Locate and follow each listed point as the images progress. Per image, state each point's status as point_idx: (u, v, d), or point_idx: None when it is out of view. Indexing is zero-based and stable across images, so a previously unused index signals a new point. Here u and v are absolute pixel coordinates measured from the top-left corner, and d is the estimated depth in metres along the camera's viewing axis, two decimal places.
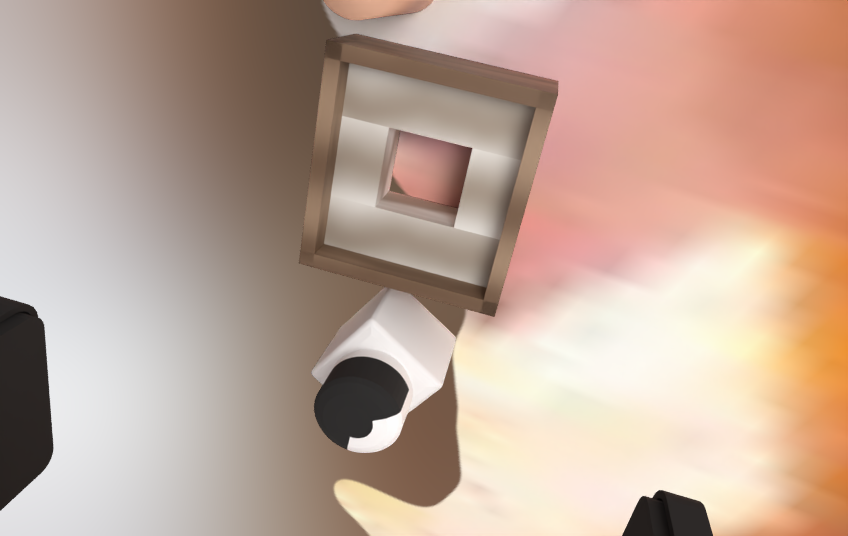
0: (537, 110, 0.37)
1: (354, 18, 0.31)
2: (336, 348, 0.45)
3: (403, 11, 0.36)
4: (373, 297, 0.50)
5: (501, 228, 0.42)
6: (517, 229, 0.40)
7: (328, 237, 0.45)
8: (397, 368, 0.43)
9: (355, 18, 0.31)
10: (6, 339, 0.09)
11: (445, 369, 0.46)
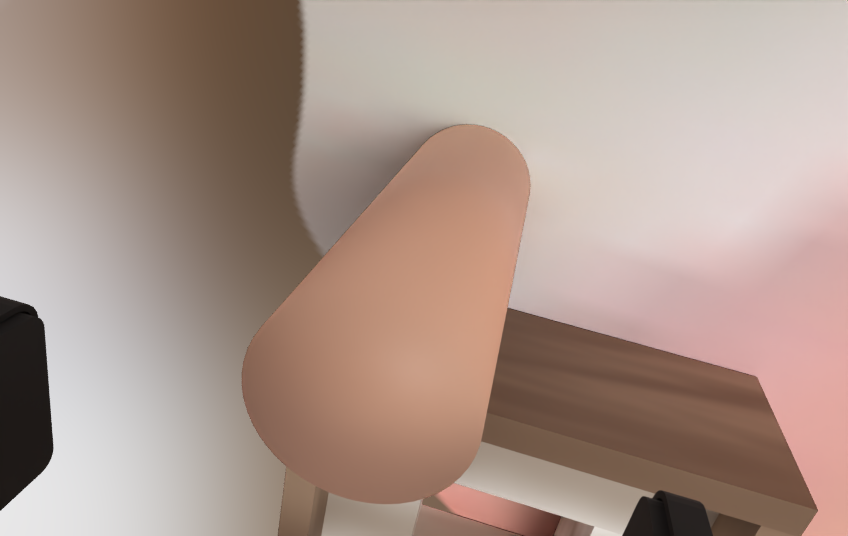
0: (763, 531, 0.17)
1: (357, 498, 0.11)
2: None
3: None
4: None
5: None
6: None
7: None
8: None
9: (360, 499, 0.11)
10: (6, 339, 0.09)
11: None
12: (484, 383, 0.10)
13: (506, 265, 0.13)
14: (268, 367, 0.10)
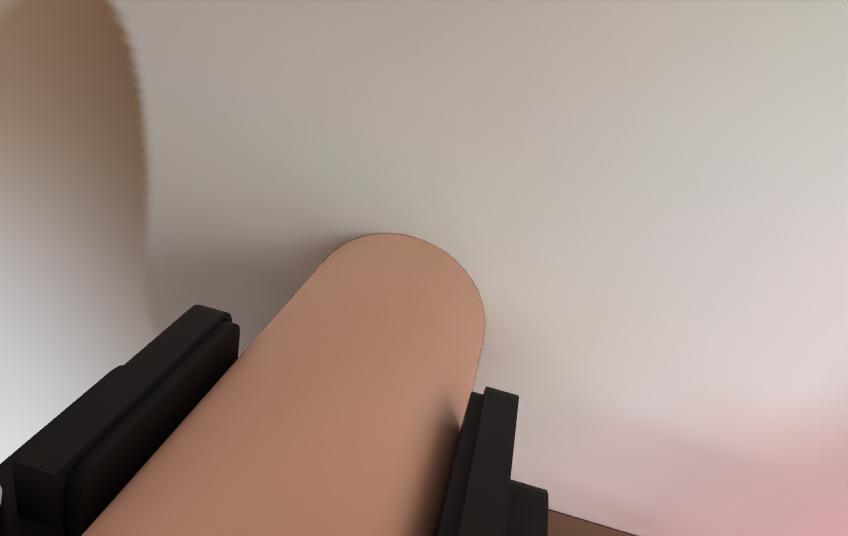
0: None
1: None
2: None
3: None
4: None
5: None
6: None
7: None
8: None
9: None
10: (219, 345, 0.10)
11: None
12: None
13: None
14: None
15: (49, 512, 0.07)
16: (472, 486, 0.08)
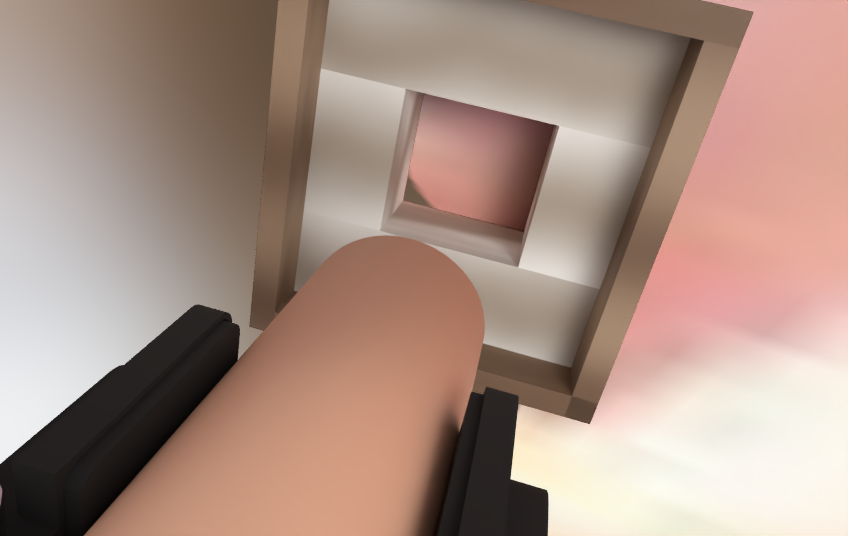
0: (706, 47, 0.18)
1: None
2: None
3: None
4: None
5: (604, 269, 0.24)
6: (644, 276, 0.21)
7: (301, 280, 0.27)
8: None
9: None
10: (219, 345, 0.10)
11: None
12: None
13: None
14: None
15: (49, 512, 0.07)
16: (472, 486, 0.08)
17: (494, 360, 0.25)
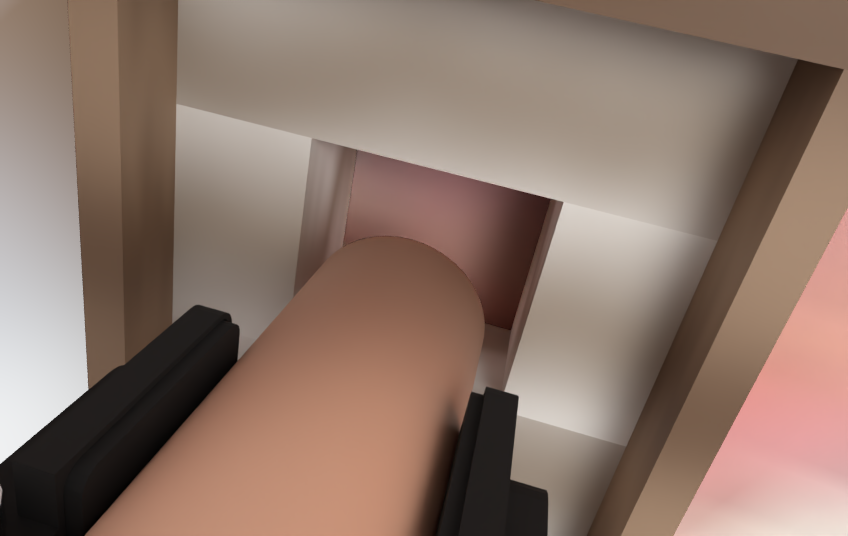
0: (847, 82, 0.10)
1: None
2: None
3: None
4: None
5: (634, 420, 0.15)
6: (707, 459, 0.13)
7: None
8: None
9: None
10: (219, 345, 0.10)
11: None
12: None
13: None
14: None
15: (49, 512, 0.07)
16: (472, 486, 0.08)
17: None
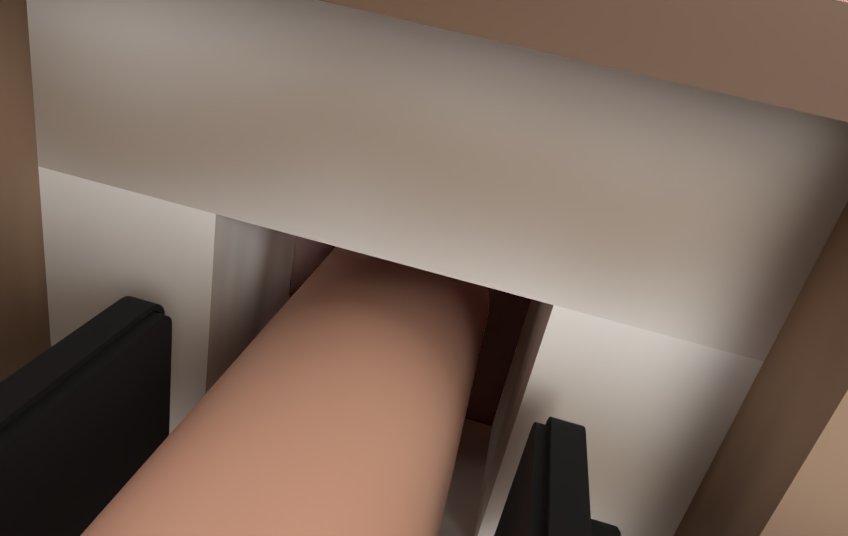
0: None
1: None
2: None
3: None
4: None
5: None
6: None
7: None
8: None
9: None
10: (146, 336, 0.09)
11: None
12: None
13: None
14: None
15: None
16: (553, 529, 0.07)
17: None
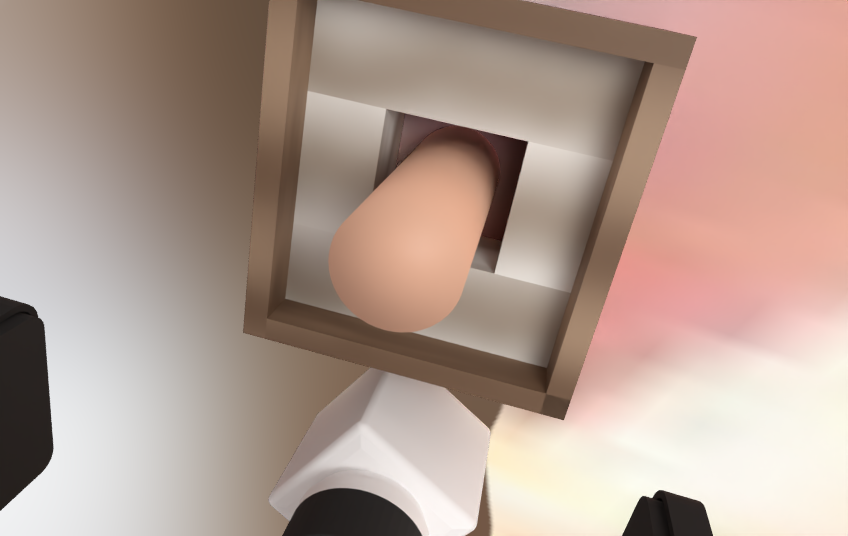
0: (656, 69, 0.20)
1: (393, 329, 0.19)
2: (306, 465, 0.28)
3: None
4: (365, 372, 0.33)
5: (574, 274, 0.25)
6: (609, 279, 0.23)
7: (291, 288, 0.28)
8: (405, 507, 0.26)
9: (395, 329, 0.19)
10: (6, 339, 0.09)
11: (479, 493, 0.29)
12: (465, 253, 0.18)
13: (479, 205, 0.21)
14: (344, 248, 0.18)
15: None
16: None
17: (473, 361, 0.27)
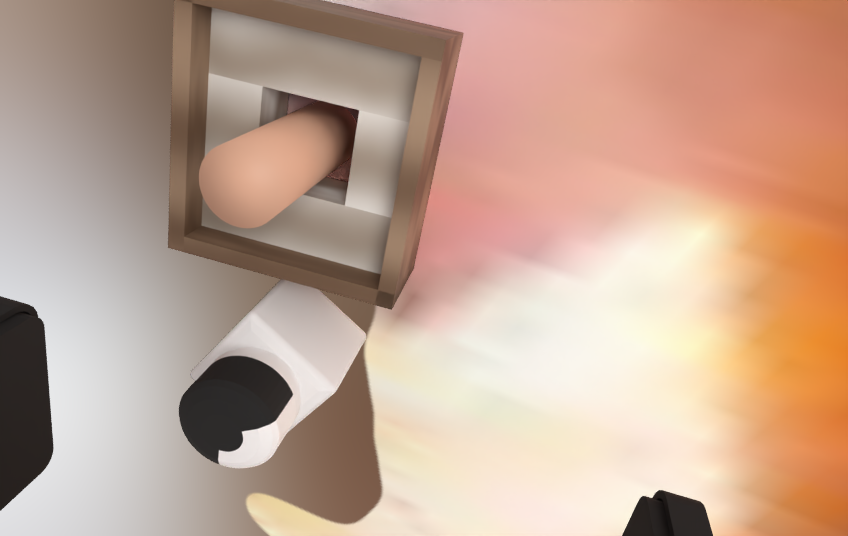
0: (423, 60, 0.31)
1: (242, 226, 0.29)
2: (215, 346, 0.39)
3: None
4: None
5: None
6: (410, 205, 0.34)
7: (205, 218, 0.39)
8: (279, 370, 0.37)
9: (243, 226, 0.29)
10: (6, 339, 0.09)
11: (344, 370, 0.40)
12: (282, 176, 0.28)
13: (313, 151, 0.32)
14: (208, 172, 0.29)
15: None
16: None
17: (331, 269, 0.37)
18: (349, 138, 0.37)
